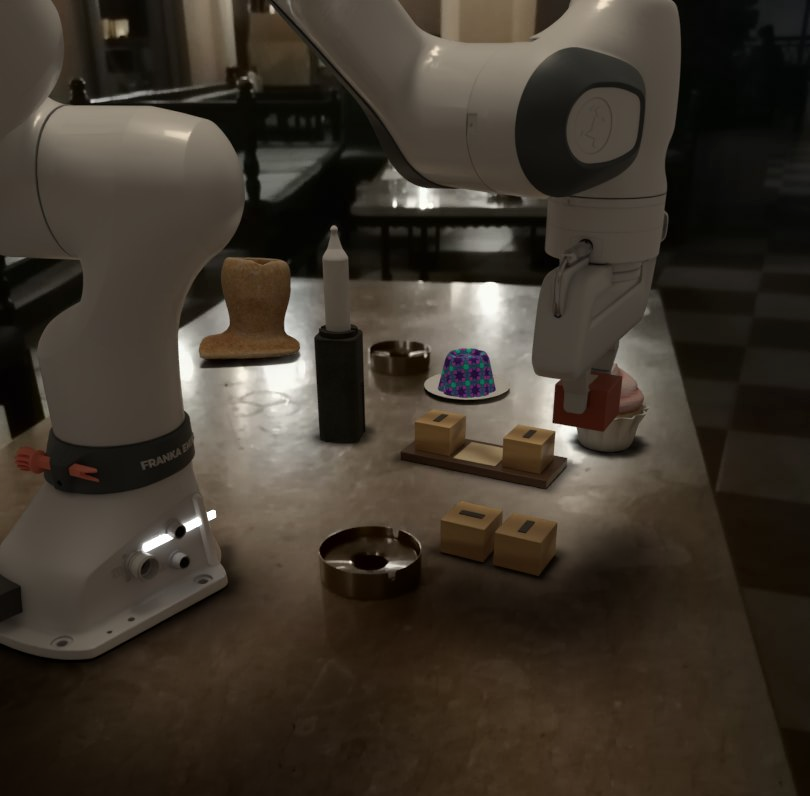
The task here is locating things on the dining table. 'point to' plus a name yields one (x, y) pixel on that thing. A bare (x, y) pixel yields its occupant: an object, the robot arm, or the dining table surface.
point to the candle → (339, 354)
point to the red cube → (591, 403)
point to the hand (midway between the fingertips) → (587, 399)
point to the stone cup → (253, 311)
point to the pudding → (467, 377)
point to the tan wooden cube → (525, 543)
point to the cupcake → (618, 419)
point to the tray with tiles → (485, 450)
